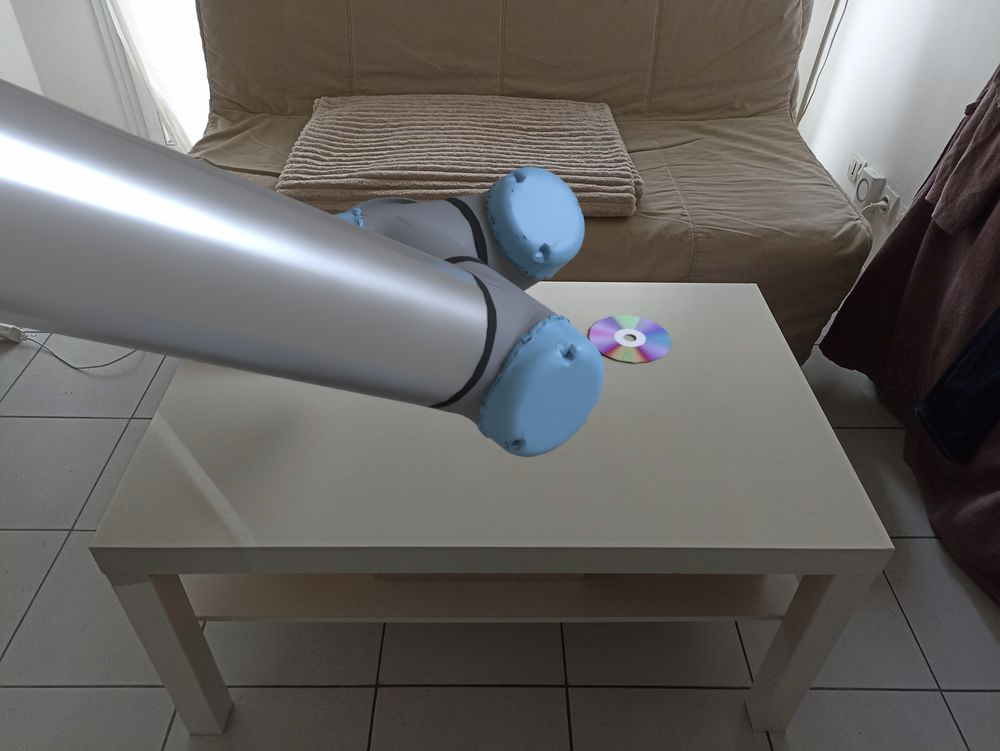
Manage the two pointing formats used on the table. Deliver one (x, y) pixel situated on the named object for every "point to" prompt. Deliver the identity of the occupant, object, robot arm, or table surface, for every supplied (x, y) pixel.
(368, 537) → the table surface
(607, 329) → the cd
